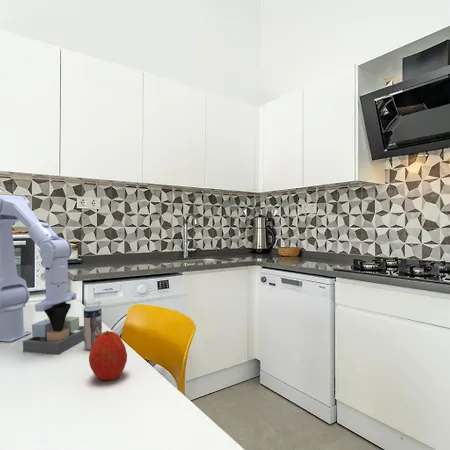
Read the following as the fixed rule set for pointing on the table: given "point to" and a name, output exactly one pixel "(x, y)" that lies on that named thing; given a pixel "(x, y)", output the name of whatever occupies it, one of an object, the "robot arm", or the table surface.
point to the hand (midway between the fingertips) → (57, 330)
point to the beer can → (92, 324)
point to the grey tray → (53, 343)
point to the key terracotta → (57, 335)
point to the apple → (108, 356)
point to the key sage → (71, 323)
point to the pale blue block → (41, 328)
